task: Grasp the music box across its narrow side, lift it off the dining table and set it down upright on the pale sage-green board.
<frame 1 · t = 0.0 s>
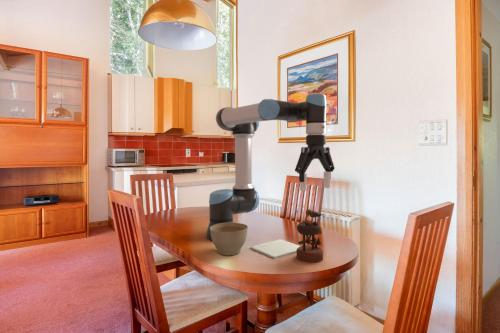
hand: (315, 189, 117), 28 cm above the table, fingers open, 13 cm apart
board: (277, 249, 131), on the table
music box: (308, 259, 119), on the table
planter bowl: (229, 252, 128), on the table
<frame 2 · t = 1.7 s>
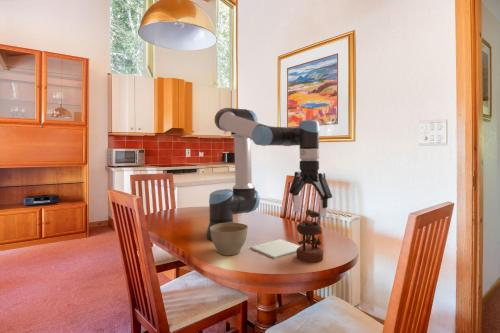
hand: (309, 213, 118), 18 cm above the table, fingers open, 13 cm apart
nothing on the table moved.
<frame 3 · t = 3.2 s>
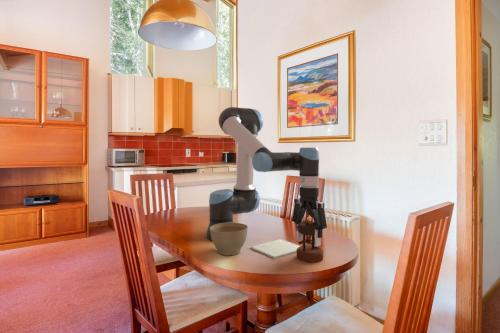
hand: (308, 242, 119), 6 cm above the table, fingers closed on music box, 9 cm apart
music box: (308, 258, 119), on the table, touching gripper
everything else where it was.
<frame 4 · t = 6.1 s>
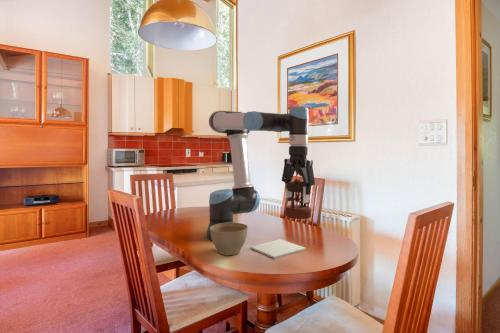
hand: (297, 200, 122), 23 cm above the table, fingers closed on music box, 9 cm apart
music box: (297, 216, 123), point 16 cm above the table, touching gripper
everything else where it was.
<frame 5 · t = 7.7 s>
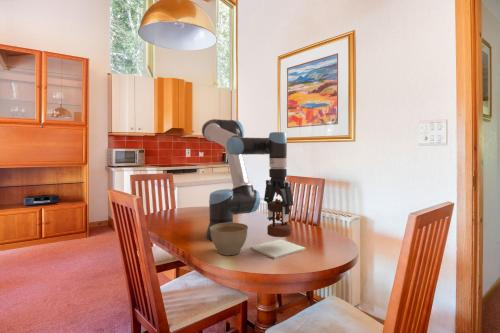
hand: (278, 219, 130), 13 cm above the table, fingers closed on music box, 9 cm apart
music box: (278, 234, 131), point 6 cm above the table, touching gripper
everything else where it was.
when the fingers open (8 cm above the table, at t = 9.2 s): music box drops 1 cm, resting on board.
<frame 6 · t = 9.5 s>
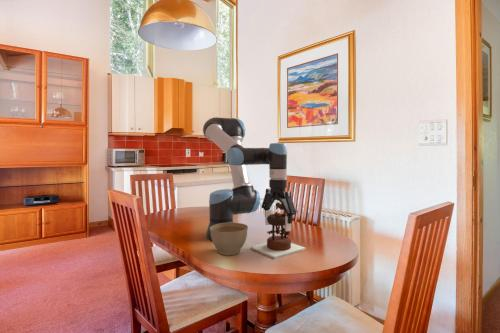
hand: (277, 227, 131), 10 cm above the table, fingers open, 12 cm apart
music box: (277, 247, 131), point 1 cm above the table, touching board
everything else where it was.
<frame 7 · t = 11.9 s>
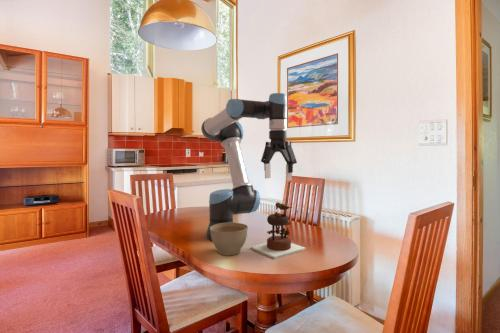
hand: (277, 179, 129), 31 cm above the table, fingers open, 13 cm apart
nothing on the table moved.
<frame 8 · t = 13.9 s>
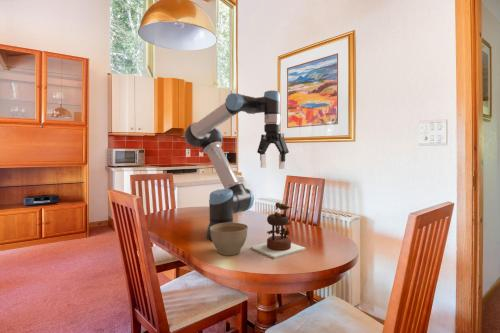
hand: (272, 168, 144), 35 cm above the table, fingers open, 13 cm apart
nothing on the table moved.
at the end: music box inside the target area on the board (0.1 cm from its centre), point 0.6 cm above the board's base; music box tilted 0°; music box touching board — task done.
